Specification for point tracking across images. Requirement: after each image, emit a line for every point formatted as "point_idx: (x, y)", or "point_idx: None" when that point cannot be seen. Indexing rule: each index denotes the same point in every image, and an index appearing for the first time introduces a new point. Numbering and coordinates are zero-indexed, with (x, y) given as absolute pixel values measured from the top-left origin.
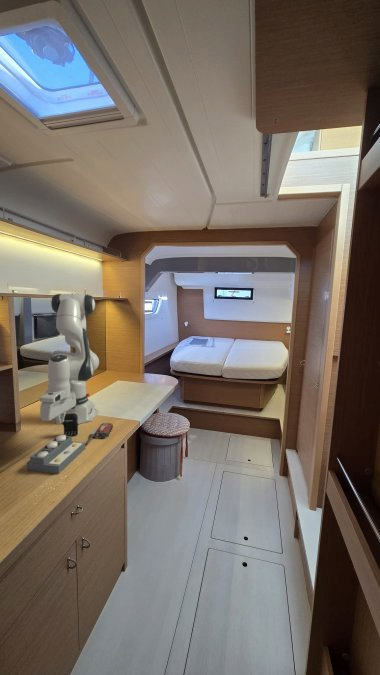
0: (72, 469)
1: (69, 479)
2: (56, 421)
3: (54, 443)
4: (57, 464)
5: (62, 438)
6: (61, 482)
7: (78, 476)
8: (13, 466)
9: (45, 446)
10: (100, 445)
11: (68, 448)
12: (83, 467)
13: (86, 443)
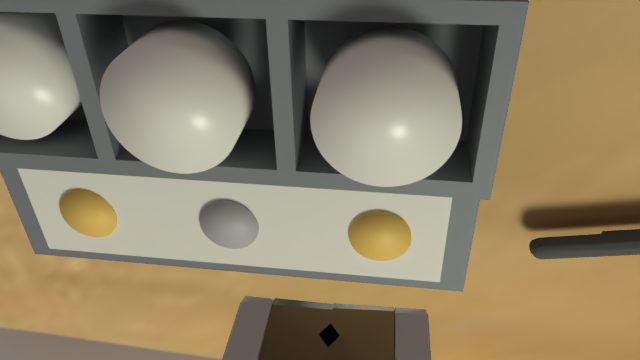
0: (152, 269)
1: (61, 293)
2: (226, 348)
3: (179, 143)
4: (46, 236)
5: (339, 169)
6: (15, 266)
7: (109, 324)
8: None
9: (131, 12)
10: (533, 329)
11: (304, 204)
12: (200, 319)
13: (530, 248)
